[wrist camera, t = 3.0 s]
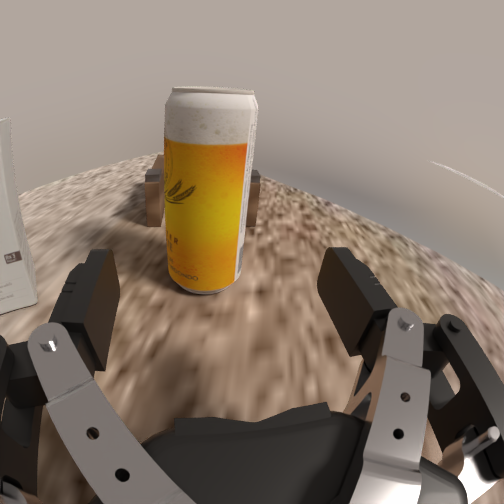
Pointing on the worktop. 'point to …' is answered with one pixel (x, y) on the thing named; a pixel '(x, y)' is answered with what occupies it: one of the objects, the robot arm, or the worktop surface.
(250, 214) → the holder
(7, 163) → the skincare box
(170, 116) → the beer can
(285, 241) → the worktop surface
